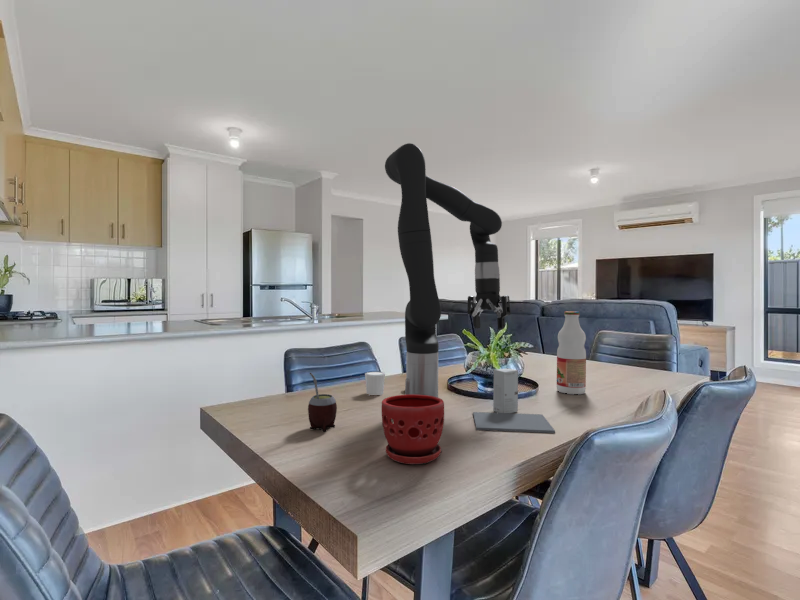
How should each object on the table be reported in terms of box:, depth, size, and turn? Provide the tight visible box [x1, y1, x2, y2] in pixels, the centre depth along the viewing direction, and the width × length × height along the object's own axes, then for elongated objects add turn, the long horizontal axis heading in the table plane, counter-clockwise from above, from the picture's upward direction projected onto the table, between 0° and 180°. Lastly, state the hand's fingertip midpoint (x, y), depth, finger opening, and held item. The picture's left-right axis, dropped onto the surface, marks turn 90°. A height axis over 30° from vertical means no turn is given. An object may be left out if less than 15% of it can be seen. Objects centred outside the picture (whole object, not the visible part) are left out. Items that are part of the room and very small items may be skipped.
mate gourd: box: [307, 372, 338, 433], centre depth 107 cm, size 8×8×15 cm
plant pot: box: [381, 394, 445, 465], centre depth 90 cm, size 13×13×12 cm
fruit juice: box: [556, 310, 587, 395], centre depth 148 cm, size 9×9×28 cm
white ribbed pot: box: [364, 371, 386, 396], centre depth 144 cm, size 7×7×7 cm
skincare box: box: [492, 367, 519, 413], centre depth 124 cm, size 6×4×12 cm
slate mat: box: [472, 411, 556, 434], centre depth 113 cm, size 19×14×1 cm
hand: (488, 328), depth 134 cm, fingers open, 8 cm apart
